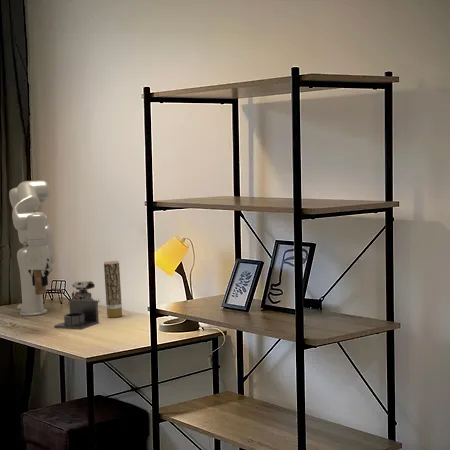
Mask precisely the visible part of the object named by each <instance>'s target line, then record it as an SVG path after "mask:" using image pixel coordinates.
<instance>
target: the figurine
mask: <svg viewBox="0 0 450 450" xmlns="http://www.w3.org/2000/svg"><path fill="white" fill-rule="evenodd" d="M71 286H72V288H75V289H76V290H77V291H73V292H71V299H75V300H94V298H93V297H92V293H91V292H89V291H88V290H91V289H94V288H95V283H94V282H93V281H91V280H90V281H89V280H88V281H87V280H86V281H85V280H84V281H83V280H81V281H74V282H73V283H72V284H71ZM97 303H98V304H99V303H100V299H99V298H98V300H97Z"/></svg>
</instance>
